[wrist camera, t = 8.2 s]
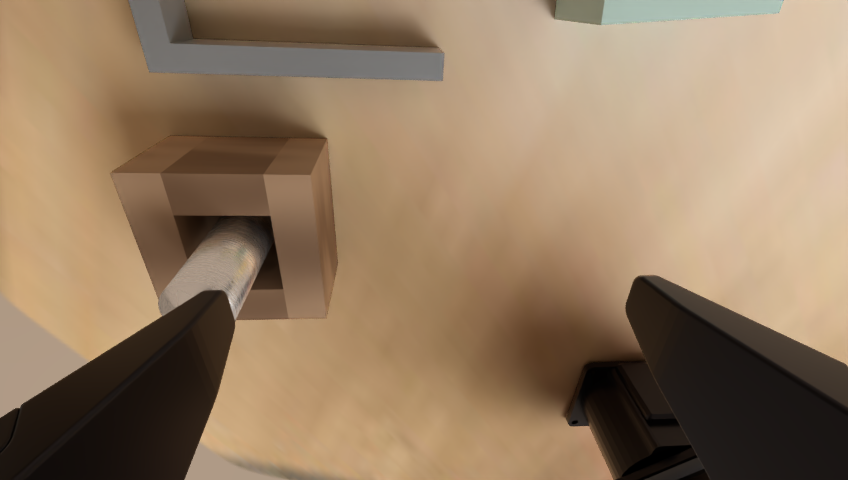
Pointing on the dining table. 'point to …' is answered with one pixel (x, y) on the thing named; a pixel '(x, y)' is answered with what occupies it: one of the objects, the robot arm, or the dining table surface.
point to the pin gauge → (223, 262)
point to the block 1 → (238, 213)
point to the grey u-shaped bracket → (270, 52)
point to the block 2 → (658, 10)
